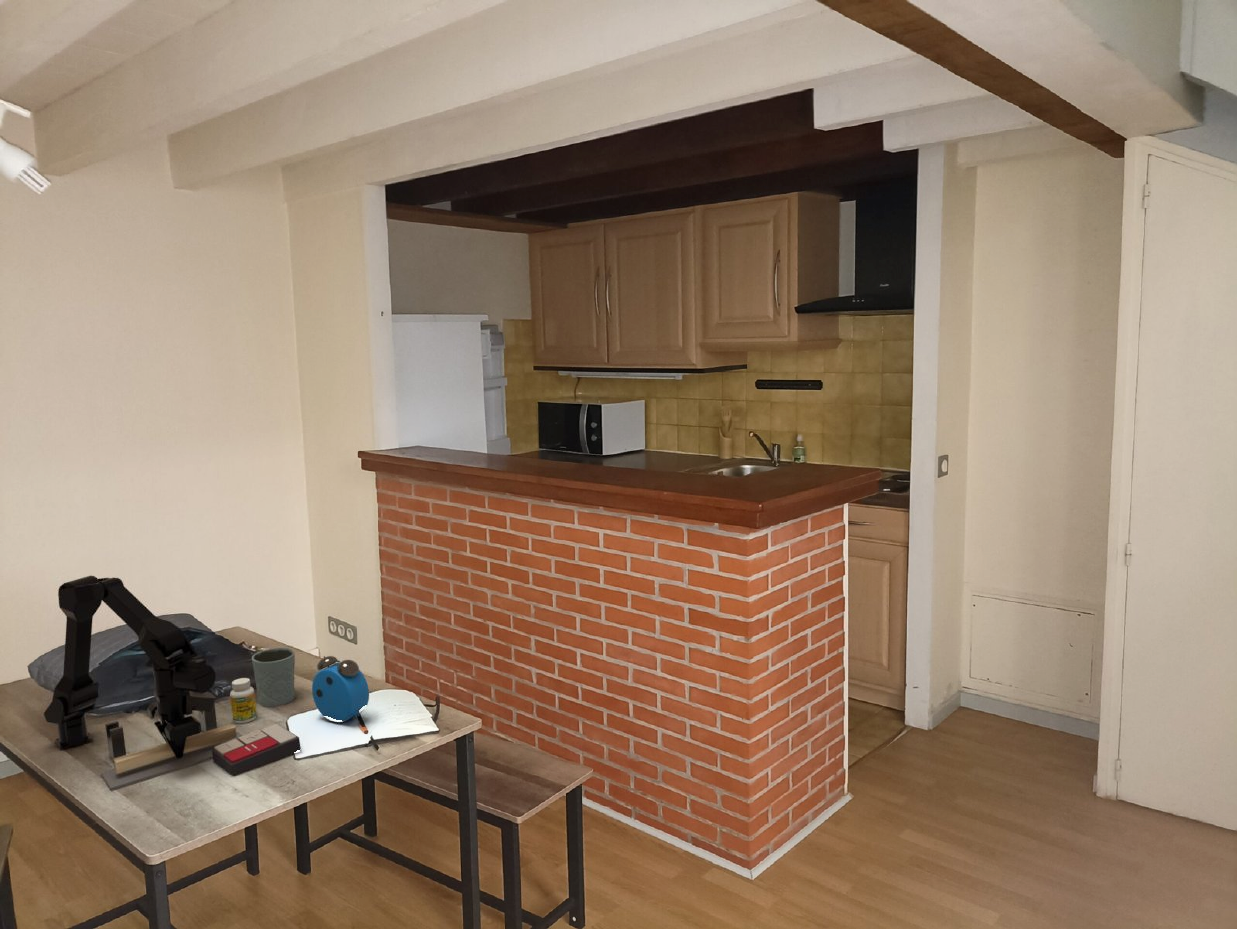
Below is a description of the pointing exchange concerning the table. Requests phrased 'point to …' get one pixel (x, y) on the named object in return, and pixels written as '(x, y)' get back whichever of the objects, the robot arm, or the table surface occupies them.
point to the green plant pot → (274, 676)
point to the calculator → (255, 749)
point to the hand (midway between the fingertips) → (177, 755)
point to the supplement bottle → (243, 701)
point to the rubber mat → (159, 767)
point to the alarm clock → (339, 688)
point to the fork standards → (117, 735)
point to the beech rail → (166, 751)
